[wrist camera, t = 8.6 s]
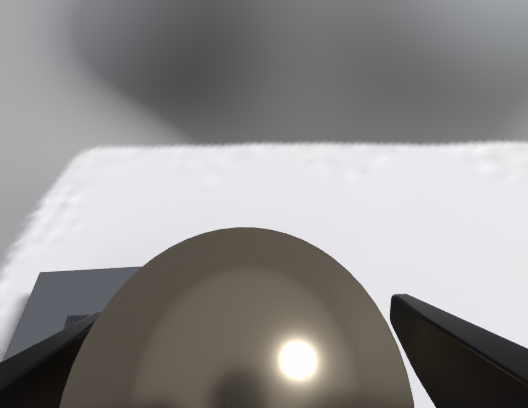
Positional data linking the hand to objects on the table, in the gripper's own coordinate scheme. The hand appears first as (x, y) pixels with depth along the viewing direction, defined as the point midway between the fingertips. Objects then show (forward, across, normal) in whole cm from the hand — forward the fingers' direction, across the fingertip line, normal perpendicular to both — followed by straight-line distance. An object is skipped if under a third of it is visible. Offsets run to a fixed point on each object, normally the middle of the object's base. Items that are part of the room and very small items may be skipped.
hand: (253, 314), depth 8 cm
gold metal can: (+5, 0, +7) cm, 8 cm away
